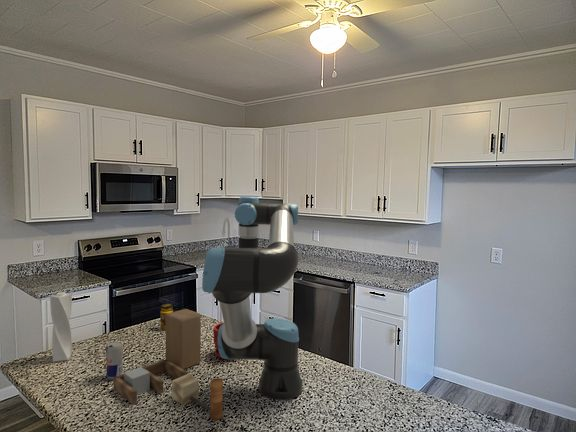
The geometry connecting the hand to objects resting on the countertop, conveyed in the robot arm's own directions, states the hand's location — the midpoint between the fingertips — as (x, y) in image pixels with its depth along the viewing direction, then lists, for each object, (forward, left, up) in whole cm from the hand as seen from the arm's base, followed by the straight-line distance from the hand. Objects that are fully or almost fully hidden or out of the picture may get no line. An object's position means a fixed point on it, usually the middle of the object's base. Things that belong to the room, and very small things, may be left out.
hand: (247, 292), depth 149 cm
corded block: (-11, +30, -29) cm, 43 cm away
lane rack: (+11, +34, -29) cm, 46 cm away
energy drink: (+26, +40, -29) cm, 56 cm away
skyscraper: (+55, +48, -29) cm, 79 cm away
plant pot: (+12, -1, -29) cm, 31 cm away
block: (+12, +39, -29) cm, 50 cm away
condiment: (+56, +2, -29) cm, 63 cm away
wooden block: (+18, +17, -29) cm, 38 cm away
